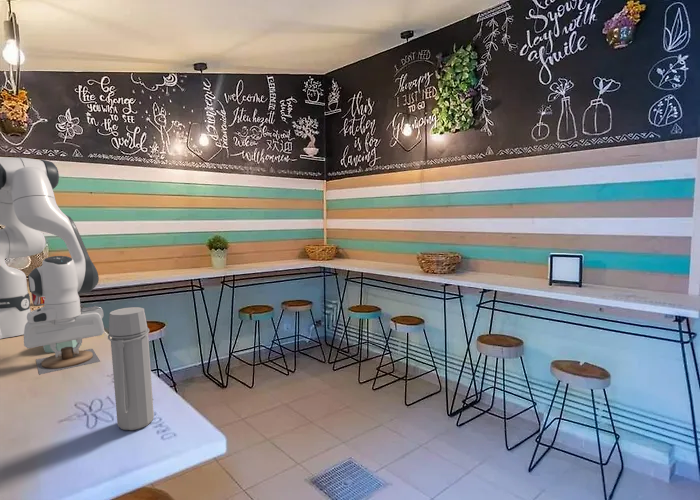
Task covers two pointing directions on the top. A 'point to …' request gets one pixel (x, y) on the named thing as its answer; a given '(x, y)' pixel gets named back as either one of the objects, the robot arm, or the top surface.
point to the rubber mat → (46, 370)
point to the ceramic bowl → (61, 345)
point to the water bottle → (131, 367)
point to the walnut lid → (67, 359)
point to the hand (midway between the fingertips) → (67, 355)
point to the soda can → (38, 300)
